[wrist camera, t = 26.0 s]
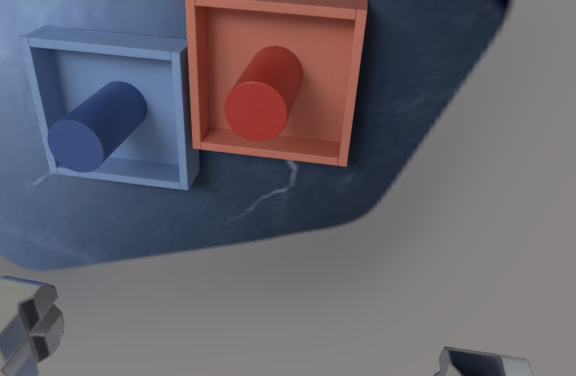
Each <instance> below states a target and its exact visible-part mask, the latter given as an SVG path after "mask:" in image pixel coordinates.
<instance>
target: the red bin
mask: <svg viewBox="0 0 576 376" xmlns="http://www.w3.org/2000/svg"><path fill="white" fill-rule="evenodd" d="M185 7H186V26H187V45H188V65H189V84H190V103H191V122H192V141H193V149H202V150H209V151H217V152H226V153H234V154H243V155H251V156H260V157H269V158H277V159H286V160H294V161H303V162H312V163H320V164H329V165H338V166H345V167H346V166H347V160H348V153H349V145H350V138H351V130H352V123H353V115H354V108H355V100H356V93H357V85H358V78H359V70H360V63H361V55H362V48H363V40H364V33H365V25H366V18H367V7H368V0H185ZM269 46H280V47H284V48H286V49H288V50H290V51H291V52H292V53H294V54H295V56H296V57H297V58H298V60H299V61H300V64H301V67H302V81H301V84H300V87H299V89H298V92H297V95H296V98H295V101H294V103H293V106H292V109H291V112H290V115H289V118H288V120H287V123H286V126H285V128H284V129H283V131H282V132H281V133H280V134H279V135H278V136H276V137H275V138H273V139H271V140H268V141H262V142H255V141H250V140H247V139H244V138H242V137H241V136H239V135H238V134H236V133H235V132H234V131H233V130H232V128H231V127H230V126H229V124H228V122H227V120H226V117H225V113H224V105H225V100H226V97H227V96H228V94H229V92H230V91H231V89H232V88H233V86H234V85H235V83H236V82H237V80H238V79H239V78H240V76H241V75H242V73H243V72H244V70H245V69H246V67H247V66H248V64H249V63H250V61H251V60H252V58H253V57H254V56H255V54H256V53H257V52H258V51H260V50H261V49H263V48H265V47H269Z"/></svg>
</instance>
